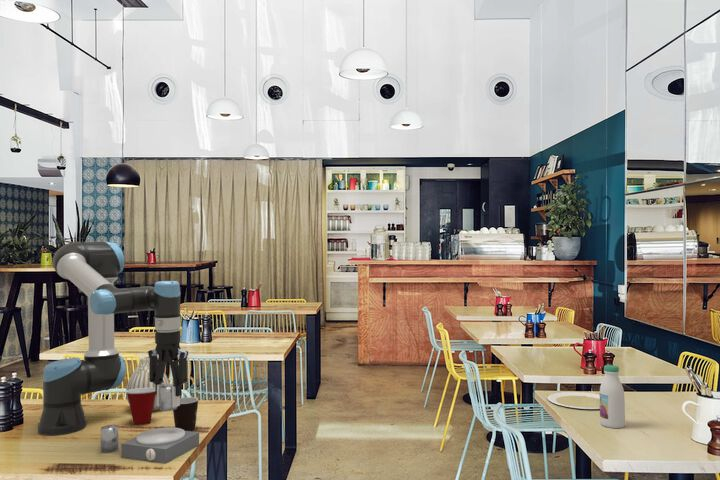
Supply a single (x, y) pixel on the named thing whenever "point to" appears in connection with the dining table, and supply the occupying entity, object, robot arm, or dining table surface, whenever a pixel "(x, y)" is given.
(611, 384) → the milk bottle
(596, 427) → the dining table surface
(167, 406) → the cylinder
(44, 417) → the robot arm
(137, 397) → the plastic cup
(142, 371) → the vase
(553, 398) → the plate
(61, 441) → the dining table surface
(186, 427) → the coffee mug
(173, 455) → the scale
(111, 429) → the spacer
